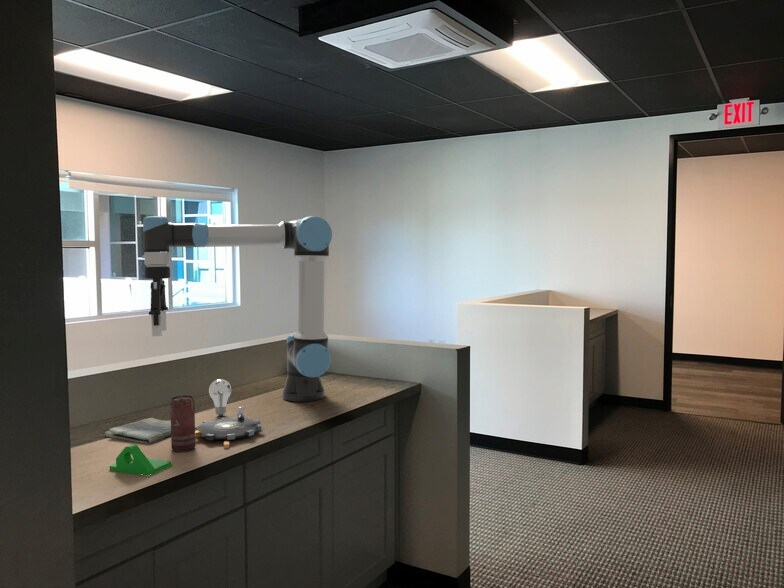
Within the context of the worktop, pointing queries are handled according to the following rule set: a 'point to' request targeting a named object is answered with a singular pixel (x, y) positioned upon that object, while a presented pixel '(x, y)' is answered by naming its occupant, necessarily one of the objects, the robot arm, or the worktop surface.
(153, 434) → the dish towel
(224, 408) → the light bulb
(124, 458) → the bracket
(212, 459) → the worktop surface
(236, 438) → the sprocket base
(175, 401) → the can
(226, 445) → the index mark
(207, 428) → the sprocket
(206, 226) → the robot arm
